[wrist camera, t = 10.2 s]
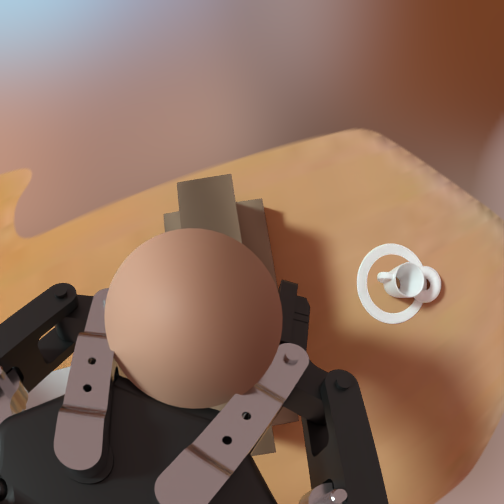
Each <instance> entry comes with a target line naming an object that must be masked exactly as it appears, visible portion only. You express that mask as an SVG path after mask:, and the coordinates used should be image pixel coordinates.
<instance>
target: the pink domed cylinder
mask: <svg viewBox="0 0 504 504" xmlns="http://www.w3.org/2000/svg"><path fill="white" fill-rule="evenodd" d="M104 319H105V330H106V336H107V340H108V344H109V347H110V350H112V351H114V359H115V361H116V362H117V364H118V366H119V367H120V369H121V370H122V372H123V373H124V374H125V375H126V376H127V378H128V379H129V380H130V381H131V382H132V383H133V384H134V385H135V386H136V387H137V388H139V389H140V390H141V391H143V392H144V393H146V394H147V395H149V396H151V397H152V398H154V399H156V400H158V401H161V402H163V403H166V404H168V405H172V406H176V407H181V408H191V409H196V408H208V407H214V406H218V405H221V404H224V403H227V402H229V401H230V400H231V398H232V397H233V396H234V395H235V394H239V395H243V394H244V393H246V392H247V391H248V390H250V389H251V388H252V387H253V386H254V385H255V384H256V383H257V382H258V381H259V380H260V379H261V378H262V377H263V375H264V374H265V373H266V371H267V370H268V368H269V367H270V365H271V364H272V361H273V359H274V357H275V355H276V353H277V350H278V347H279V343H280V339H281V333H282V320H283V316H282V306H281V301H280V297H279V293H278V290H277V288H276V285H275V282H274V280H273V278H272V277H271V275H270V273H269V271H268V270H267V268H266V267H265V265H264V264H263V263H262V261H261V260H260V259H259V258H258V257H257V256H256V255H255V254H254V253H253V252H252V251H251V250H250V249H248V248H247V247H246V246H245V245H243V244H242V243H240V242H238V241H237V240H235V239H234V238H231V237H229V236H227V235H225V234H222V233H219V232H215V231H212V230H206V229H199V228H186V229H177V230H172V231H168V232H165V233H162V234H160V235H157V236H155V237H153V238H151V239H149V240H147V241H146V242H144V243H143V244H141V245H140V246H139V247H137V248H136V249H135V250H134V251H133V252H132V253H131V254H130V255H129V256H128V257H127V258H126V259H125V260H124V262H123V263H122V264H121V266H120V267H119V269H118V270H117V272H116V273H115V275H114V278H113V280H112V282H111V284H110V287H109V290H108V293H107V298H106V303H105V315H104Z"/></svg>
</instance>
